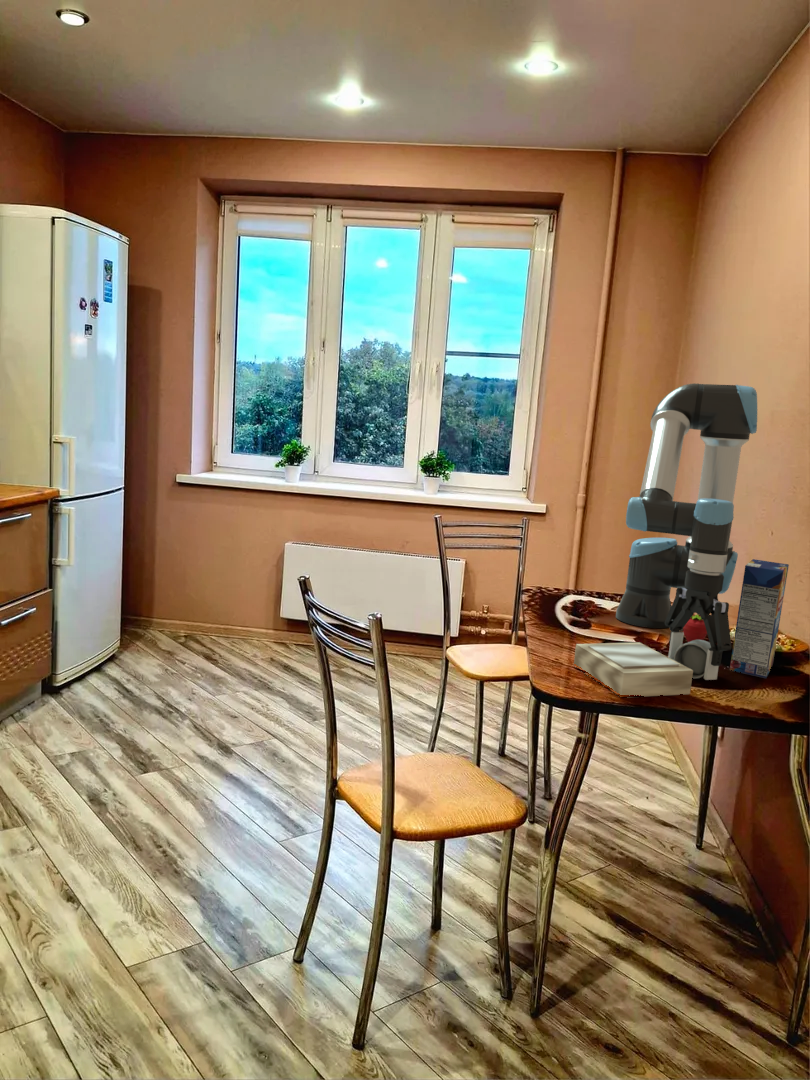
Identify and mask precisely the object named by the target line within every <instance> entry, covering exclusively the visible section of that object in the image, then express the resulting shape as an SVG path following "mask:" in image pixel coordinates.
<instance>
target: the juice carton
mask: <svg viewBox="0 0 810 1080" xmlns="http://www.w3.org/2000/svg"><path fill="white" fill-rule="evenodd" d="M789 566H790V565H789V564H787V563H780V562H775V561H774V562H773V561H767V560H761V559H754V558H753V559H752V560H751V561H749V562H748V563H746V565H745V566H744V571H743V578H742V584H741V592H740V598H739V599H740V600H739V605H738V612H737V619H736V625H735V631H734V636H733V638H734V639H733V644H732V650H731V651H732V652H731V659H730V664H729V671H731V670H732V671H731V672H735V671H736V673H740V672H741V674H743V675H744V674H745V675H749V676H753V677H759V678H761V679H762V678H763V679H767V677H768V676H769V673H770V671H771V670H770V669H772V668H771V667H773V666H774V665H773V664H774V660H775V658H774V657H775V652H776V647H777V641H778V633H779V627H780V620H781V616H782V610H783V602H784V597H785V591H786V584H787V579H788V573H789Z"/></svg>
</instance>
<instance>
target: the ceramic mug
mask: <svg viewBox="0 0 810 1080" xmlns="http://www.w3.org/2000/svg"><path fill="white" fill-rule="evenodd" d="M709 648H711V645H710V642H709V641H706V640H693V641H690V642H685V643H682V645H681V646H680V647H679V648H678V649H677V650H676V652H675V654H674V657H672V658H670V659H672V660H674V661H676V662H678V663H680V664H682V665H684V666H686V667H688V668H690V669H692V670H693V675H692V678H693V679H694V680H695V679H696V680H697V679H700V678H701V679H702V678H704V672H705V666H706V659H707V652H708V649H709ZM693 679H692V680H693Z"/></svg>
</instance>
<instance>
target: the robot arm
mask: <svg viewBox="0 0 810 1080" xmlns="http://www.w3.org/2000/svg"><path fill="white" fill-rule="evenodd" d="M650 429H651V431H652V435H651V438H650V439H651V440H650V444H649V448H648V453H647V458H646V462H645V469H644V471H643V472H644V473H643V478H642V481H641V482H642V483H641V488H640V491H639V496H635V497H634V496H632V497H630V498H629V499H628V502H627V509H626V515H625V525H626V526H627V527H628V528H629V529H631V530H636V531H640V532H641V531H642V532H651V533H661V534H670V535H676V536H684V537H687V538H686V539H685V545H679V544H678V540H677V539H676V538H672V537H671V538H669V537H645V538H639V539H636V540H634V541H633V542H632V543H631V547H630V552H629V555H628V558H629V559H628V560H629V562H628V570H627V577H626V582H625V591H624V594H623V595H622V598H621V600H620V602H619V605H618V606H617V608H616V613H615V618H616V619H617V620H619V621H621V622H623V623H625V624H629V625H631V626H637V627H643V628H650V629H665V628H669V631H670V632H669V633H670V635H669V640H668V643H669V650H668V654H667V657H669V658H672V657H674V654H675V652H676V650H677V649H678V648H679V647H680V646H681V645H683V644H684V643H683V642H684V637H685V636H684V633H683V631H684V630H683V627H684V626H685V625H686V623H687V622H688V621H689V619H690V618H691V617H692V616H694V615H695V613H696V615H698V616H700V617H701V619H702V620H703V621H704V624H705V627H706V631H707V635H706V636H707V637H708V642H709V643H710V645H711V648H709V649H708V652H707V659H706V666H705V672H704V676H703V679H704V680H705V681H709V680H710V681H712V680H713V681H714V680H718V674H719V673H718V672H719V667H720V666H721V664H722V658H723V657H722V656H723V652H724V651H732V649H733V646H732V639H731V630H730V621H729V608H730V604H729V602H725V601H724V602H723V601H720V600H719V598H718V597H719V595H720V594H721V595H722V594H725V593H726V592H728V589H729V588H730V584H731V582H732V580H733V576H734V573H735V570H736V565H737V561H738V555H739V554H738V552H736V551H735V550H733V549H734V544H733V543H732V542H731V541H730V537H731V532H732V525H733V520H734V518H735V517H734V508H735V504H734V499H735V492H736V486H737V479H738V473H739V472H738V471H739V465H740V458H741V457H740V456H741V451H742V447H743V446H744V445H745V444H746V443H748V442H749V440H750V435H753V434H756V433H757V431H758V430H757V429H758V393H757V390H756V389H755V388H754V387H753V386H749V385H741V384H740V385H739V384H716V383H715V384H714V383H713V384H711V383H696V382H695V383H686V384H683V385H681V386H678V387H677V388H675V389H673V390H672V391H670V392H669V393H668V394H667V395H665V396H664V397H663V398H661V400H660V401H659V402H658V404H657V405H656V407H655V408H654V411H653V413H652V415H651V419H650ZM690 430H696V431H697V430H698V431H700V434H699V438H700V439H701V440H702V441H703V444H704V450H703V458H702V466H701V473H700V481H699V485H698V486H699V487H698V494H697V495H698V496H697V500H696V502H683V501H675V500H674V495H675V490H676V485H677V479H678V474H679V467H680V461H681V455H682V450H683V444H684V443H683V442H684V440H685V439H684V438H685V436H686V435H687V434H688V432H689V431H690ZM671 588H674V589H675V597H674V600H673V602H672V601H671ZM671 602H672V603H671Z"/></svg>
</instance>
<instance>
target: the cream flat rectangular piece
mask: <svg viewBox="0 0 810 1080" xmlns="http://www.w3.org/2000/svg"><path fill="white" fill-rule="evenodd" d="M573 658H574V659H573V665H574V664H576V665H577V666H579V667H581V668H582V669H583V670H585V671H586V672H588V673H589V674H591V675H592V676H594V677H595V678H597V679H598V680H600V681H601V682H603V683H604V684H605V685H607V686H609V687H610V688H612V689H613V690H614V691H616V692H617V693H619V694H620V695H629V696H630V695H634V696H635V695H636V696H637V695H639V696H640V695H641V696H644V697H658V696H659V697H661V696H660V695H663V696H679V695H680V694H683V695H690V694H691V688H692V681H693V679H692V675H693V670H692V669H690V668H688V667H686V666H684V665H682V664H680V663H678V662H676V661H674V660H672V659H670V658H669V657H668V655H664V654H662V653H661V652H659V651H656V650H655V649H653V648H651V647H649V646H648V645H646V644H643V643H642V642H640V641H639V642H605V643H576V644H575V650H574V657H573Z"/></svg>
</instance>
